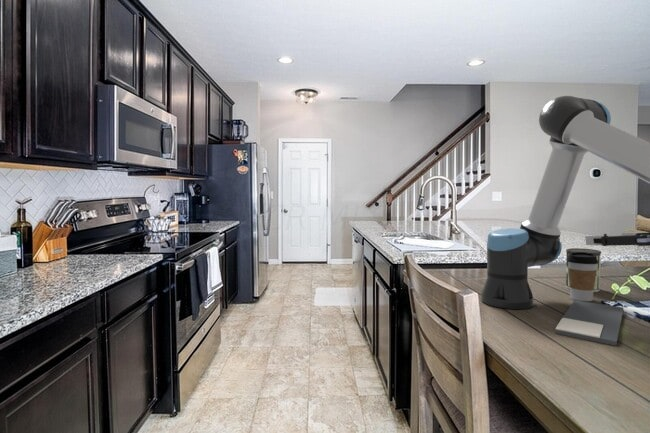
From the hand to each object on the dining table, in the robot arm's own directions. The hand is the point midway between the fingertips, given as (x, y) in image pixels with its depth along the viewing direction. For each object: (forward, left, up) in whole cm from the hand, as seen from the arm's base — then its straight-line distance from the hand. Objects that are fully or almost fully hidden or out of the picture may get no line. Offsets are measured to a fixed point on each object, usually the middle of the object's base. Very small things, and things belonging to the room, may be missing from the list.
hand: (605, 238), depth 110 cm
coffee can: (+9, +20, -21) cm, 30 cm away
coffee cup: (-1, +8, -21) cm, 22 cm away
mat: (-14, -12, -21) cm, 28 cm away
